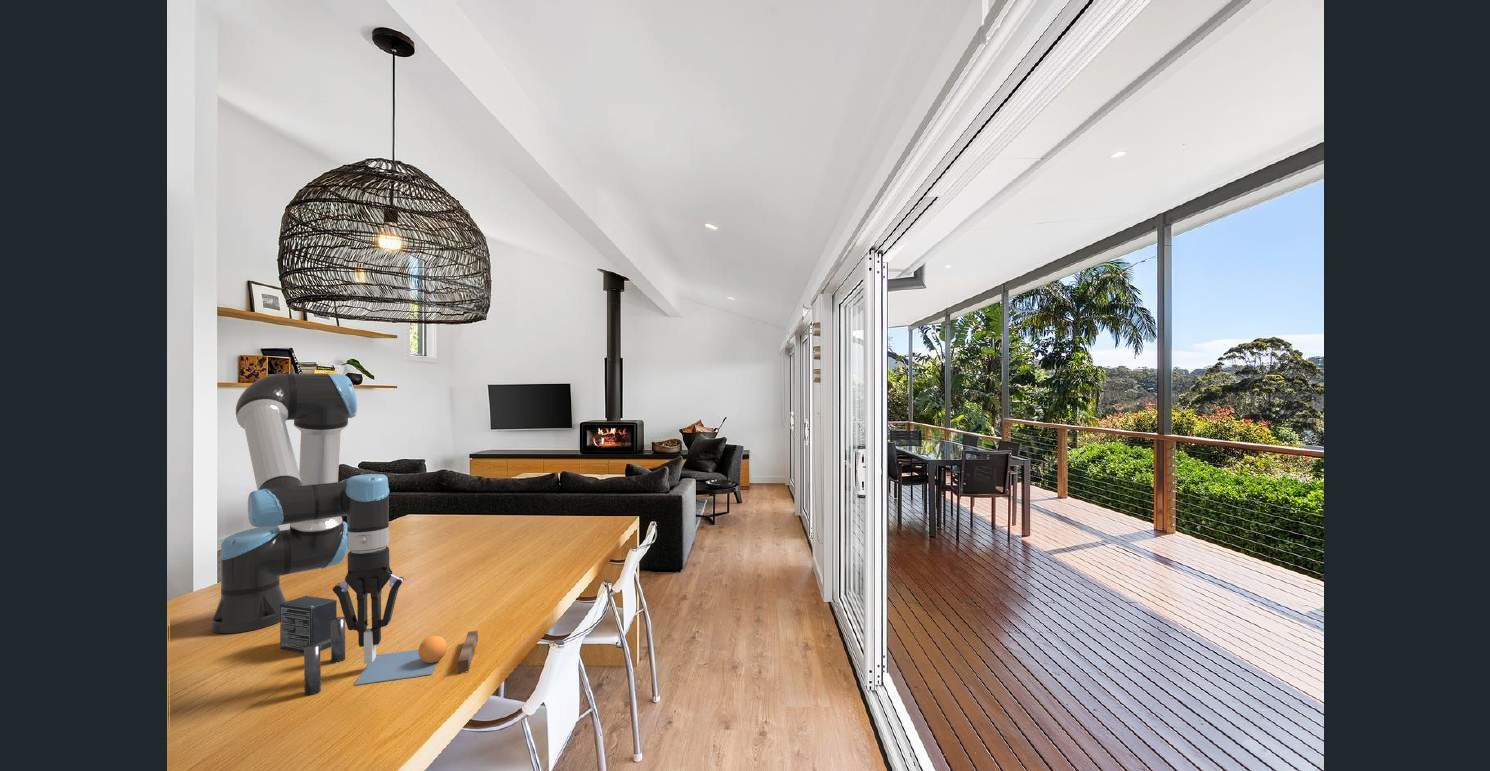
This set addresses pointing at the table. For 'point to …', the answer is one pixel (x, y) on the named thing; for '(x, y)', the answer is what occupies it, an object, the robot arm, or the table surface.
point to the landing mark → (395, 667)
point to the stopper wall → (467, 651)
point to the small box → (306, 622)
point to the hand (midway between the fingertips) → (370, 660)
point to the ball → (432, 649)
